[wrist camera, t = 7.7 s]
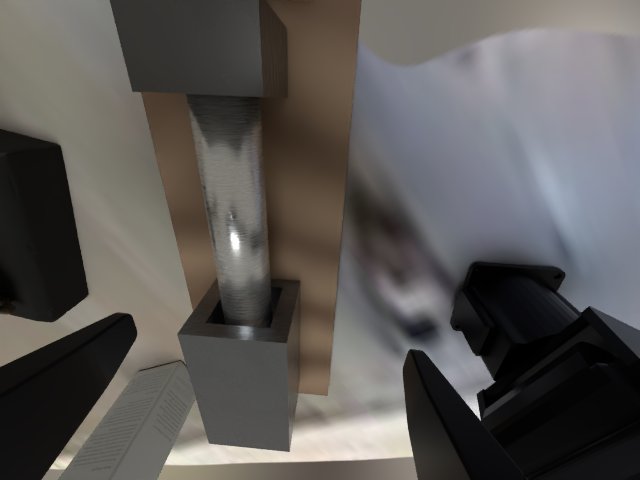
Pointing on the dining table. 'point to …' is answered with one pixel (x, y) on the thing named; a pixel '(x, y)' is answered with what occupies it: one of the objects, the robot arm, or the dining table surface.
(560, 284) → the robot arm
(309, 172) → the walnut board
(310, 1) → the reddish brown block
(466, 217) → the dining table surface
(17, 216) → the coral
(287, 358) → the sleeve
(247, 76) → the steel tube
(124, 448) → the skincare box
